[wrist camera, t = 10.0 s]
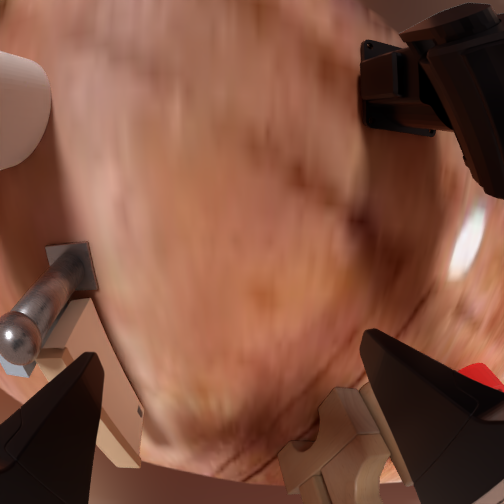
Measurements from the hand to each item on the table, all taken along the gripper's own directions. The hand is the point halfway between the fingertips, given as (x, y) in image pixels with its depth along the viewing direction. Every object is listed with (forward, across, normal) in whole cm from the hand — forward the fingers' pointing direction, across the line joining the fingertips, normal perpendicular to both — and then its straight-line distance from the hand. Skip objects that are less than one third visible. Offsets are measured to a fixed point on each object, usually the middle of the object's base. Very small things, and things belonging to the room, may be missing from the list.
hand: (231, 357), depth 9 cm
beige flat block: (+11, +10, +11) cm, 18 cm away
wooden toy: (+12, -11, +24) cm, 29 cm away
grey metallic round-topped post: (+12, +11, +2) cm, 16 cm away
